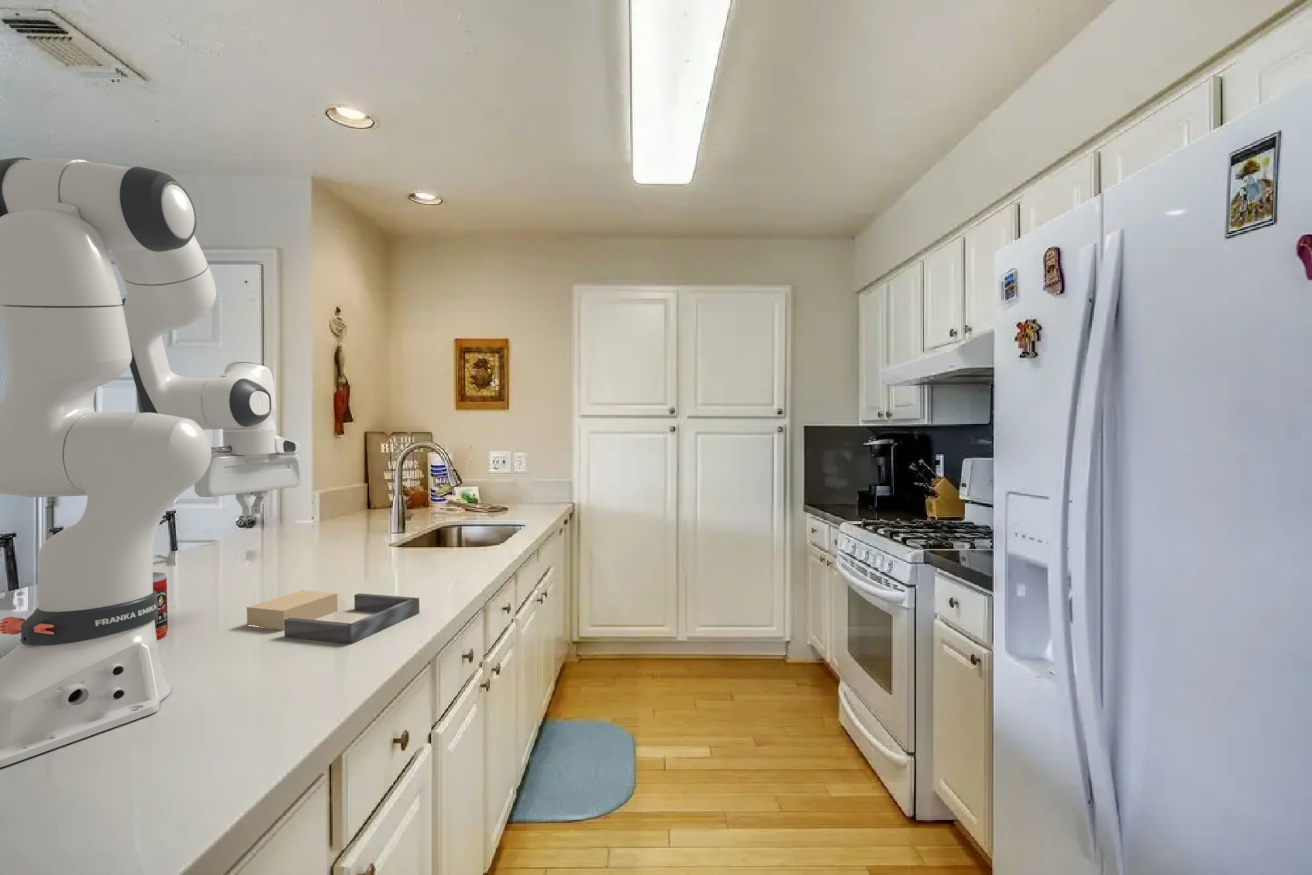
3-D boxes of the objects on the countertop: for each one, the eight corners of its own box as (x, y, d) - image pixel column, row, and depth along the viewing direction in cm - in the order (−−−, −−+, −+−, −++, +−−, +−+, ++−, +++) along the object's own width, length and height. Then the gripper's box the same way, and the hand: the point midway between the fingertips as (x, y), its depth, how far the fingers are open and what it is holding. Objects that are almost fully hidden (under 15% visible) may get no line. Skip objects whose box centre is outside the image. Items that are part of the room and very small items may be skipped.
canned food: (142, 647, 100) (140, 582, 100) (96, 647, 100) (94, 583, 100) (179, 631, 108) (178, 571, 108) (136, 631, 108) (135, 572, 108)
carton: (284, 632, 108) (283, 610, 108) (247, 628, 111) (246, 607, 110) (337, 612, 119) (337, 593, 119) (302, 609, 122) (302, 590, 122)
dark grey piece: (352, 643, 100) (351, 626, 100) (284, 636, 104) (284, 619, 104) (419, 613, 117) (419, 598, 117) (359, 607, 121) (358, 593, 121)
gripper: (210, 447, 106) (212, 523, 107) (306, 443, 126) (307, 508, 126) (184, 447, 108) (186, 522, 108) (283, 443, 128) (284, 507, 128)
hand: (252, 514), depth 118 cm, fingers closed
